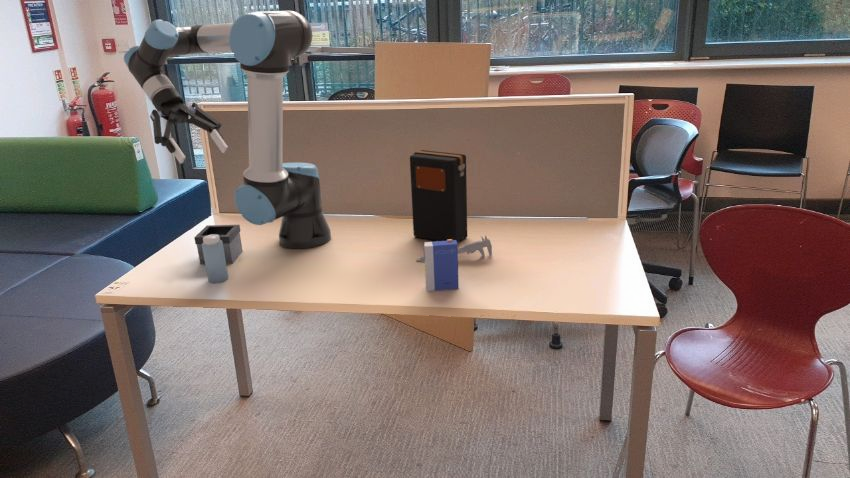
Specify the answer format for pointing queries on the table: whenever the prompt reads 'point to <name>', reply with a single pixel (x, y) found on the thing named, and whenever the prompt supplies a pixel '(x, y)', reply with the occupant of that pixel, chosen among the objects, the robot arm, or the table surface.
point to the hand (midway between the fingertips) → (204, 155)
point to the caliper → (472, 248)
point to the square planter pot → (227, 236)
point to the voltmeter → (439, 195)
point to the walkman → (441, 265)
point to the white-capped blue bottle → (214, 259)
